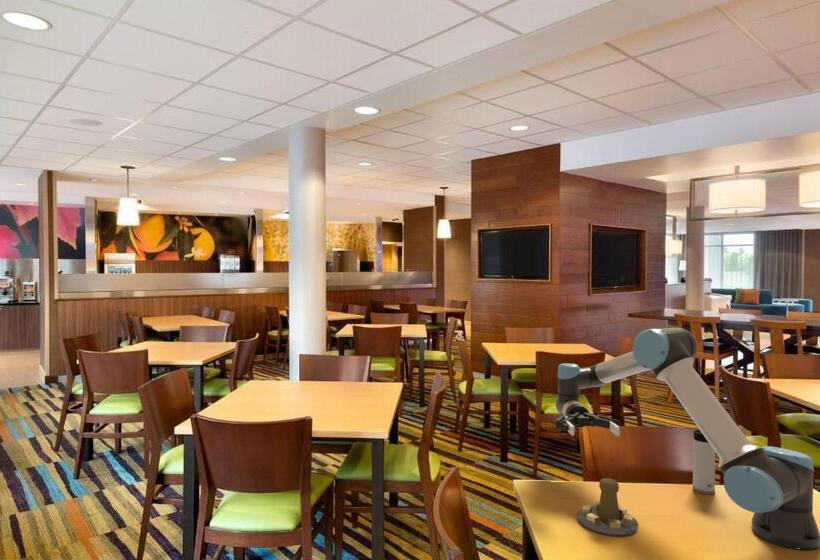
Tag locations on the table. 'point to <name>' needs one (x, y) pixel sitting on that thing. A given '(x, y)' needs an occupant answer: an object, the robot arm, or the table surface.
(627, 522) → the ring holder
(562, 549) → the table surface
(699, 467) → the travel mug
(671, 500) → the table surface
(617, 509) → the cork
